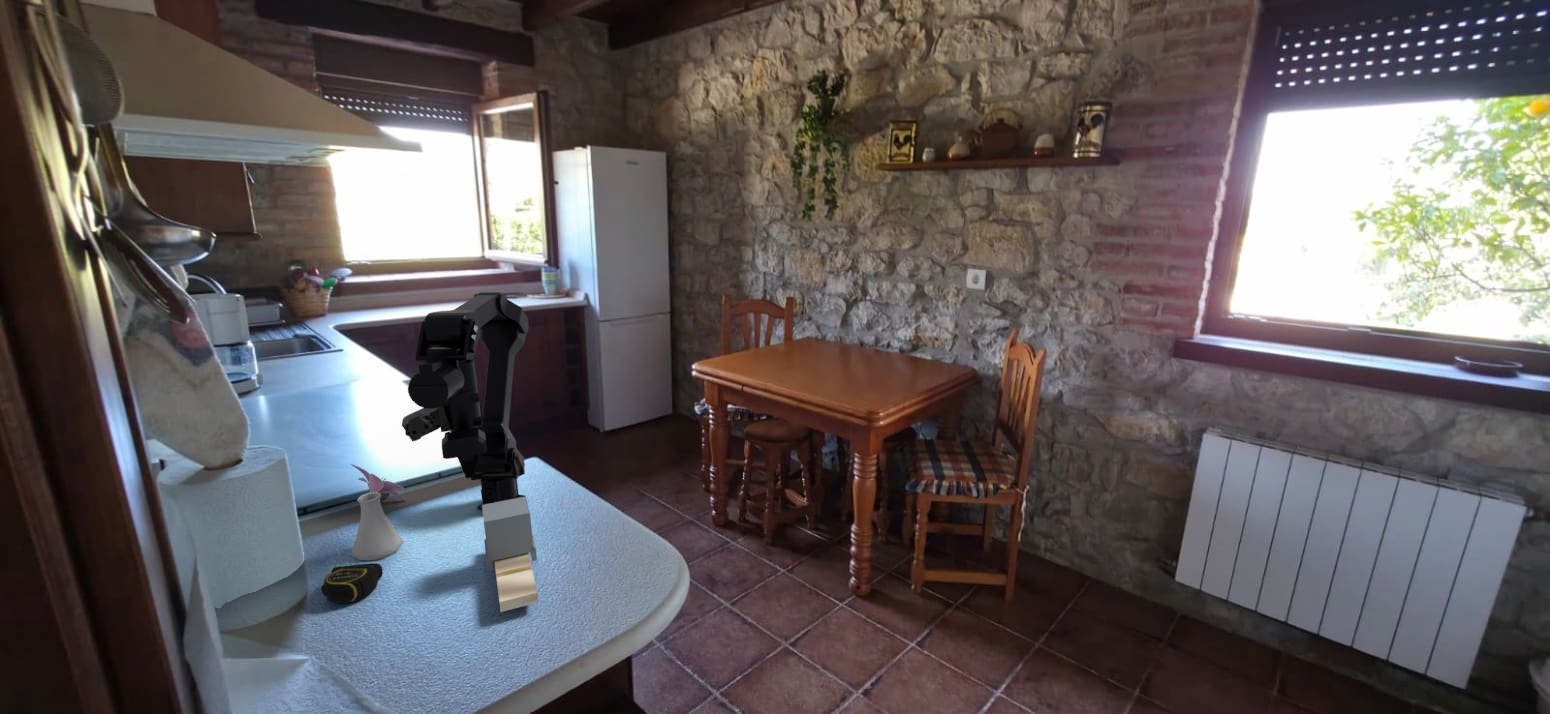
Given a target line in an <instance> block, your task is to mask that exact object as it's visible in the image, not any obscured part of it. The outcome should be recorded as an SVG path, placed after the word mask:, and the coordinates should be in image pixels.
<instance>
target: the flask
mask: <svg viewBox="0 0 1550 714" xmlns="http://www.w3.org/2000/svg"><path fill="white" fill-rule="evenodd" d="M381 498H382V493H381V494H380V493H378V492H370V491H369V492H367V493H364V494H361V495H360V496H359V497H358V498H357V499H356V501H357V502H358V503H359V506H360V522H359V525H358V529H357V533H356V536H355V541H354V544H353V547H352V550H351V551H352V552H351V555H350V556H351V557H353V558H355V559H357V560H359V561H375V560H381V559H383V558H385V557H387V556H389V555H391V554H394V553H396V552H397V551H399V550H400V548H401V547H402V545H403V544H404V543H405V541H404V539H403V538H402V537H401V535H400V534H399V533H398V531H397V529H395V527H394V526H393V524H392V523H391V522H390V520H389V518H388V516H387V515H386V514H385V511H384V509H383V507H382V504H381Z"/></svg>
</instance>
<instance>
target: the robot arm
mask: <svg viewBox="0 0 1550 714" xmlns="http://www.w3.org/2000/svg"><path fill="white" fill-rule="evenodd" d="M529 324H530V323H529V318H528V316H527V315H526V313H525V311H524V310H523V308H522V307H521V306H519V305H518V304H516V303H514V302H513V301H512V300H510V299H509V298H508V297H507V296H506V294H505V293H501V292H500V291H494V292H493V291H489V292H488V291H486V292H483V291H482V292H481V291H479V292H478V293H475V294H474V296H473V297H472V298H470V299H468V300H467V301H466V302H464V303H461V304H460V305H459V306H458V307H456V308H455V309H450V310H439V311H434V312H433V311H432V312H429V313H427V314H426V316H425V317H424V320H422V322H421V326H420V328H419V329H420V330H419V335H418V336H419V337H418V340H417V341H418V342H417V347H416V353H415V357H414V358H415V361H417V362H419V361H420V363H419V364H418V370H419V372H418V373H416V374H415V375H413V376H412V377H411V379H410V381H409V382H408V386H407V392H408V396H409V398H410V400H412V402H413V403H415V405H417V406H419V407H420V409H417V410H415V411H414V412H411V413H409V414H407V415H406V416H404V417H403V418H402V421H401V427H402V428H403V429H404V431H405V432H404V433H405V434H404V435H405V436H407V437H409V439H410V440H411V442H416V441H418V440H421V438H423V437H425V436H426V435H428V434H431V433H433V432H435V431H437V430H438V429H440V432H441V433H444V437H443V438H442V439H441V451H442V459H444V460H445V459H446V460H448V459H449V460H450V459H456V458H457V460H458V463H459V464H460V466H461V469H462V472H463V474H464V476H465V479H470V481H476V480H478V481H479V480H480V487H481V489H480V493H481V494H480V495H481V503H479V505H477V506H476V509H477V510H479V511H483V510H482V505H484V504H490V503H495V502H500V501H505V500H510V499H516V498H521V497H526V498H527V496H526V495H525V494H519V485H518V478H519V477H521V476H524V475H525V474H526V472H525V466H526V464H525V457H524V456H523V455H522V453H521V452H520V451H519V450H518V448H517V440H516V439H515V436H514V435H513V433H512V432H511V430H510V428H509V425H510V416H511V415H510V414H511V405H512V404H511V401H512V393H513V381H514V368H515V357H516V355H517V354H518V352H520V350H521V349H522V347H523V346H524V345H525V344H526V343H525V342H526V335H527V334H528V332H529ZM480 338H481V340H482V342H483V343H484V345H485V347H486V349H487V350H488V356H487V357H488V358H487V367H486V368H487V369H486V378H485V386H484V387H485V389H484V398H483V408H482V406H481V405H480V398H479V396H480V395H479V390H478V389H479V388H478V382H477V372H476V364H475V359H474V355H476V354H477V347H478V343H479V339H480Z"/></svg>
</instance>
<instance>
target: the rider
mask: <svg viewBox="0 0 1550 714" xmlns="http://www.w3.org/2000/svg"><path fill="white" fill-rule="evenodd" d="M481 511H482V518H483V527H484V535H485V538H484V549H485V550H484V551H485V559H486V566H487V572H493V570H494V569H493V562H495V561H494V560H498V559H503V558H507V557H511V556H516V555H520V554H524V553H529V554H530V556H531V558H530V559H531V562H536V561H538V558H537V547H536V542H535V539H534V535H533V528H532V520H531V519H532V518H531V511H530V508H529V504H528V498H527V496H526V497H521V498H516V499H510V500H505V501H500V502H495V503H490V504H484V505H482V510H481Z"/></svg>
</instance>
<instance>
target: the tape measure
mask: <svg viewBox="0 0 1550 714" xmlns="http://www.w3.org/2000/svg"><path fill="white" fill-rule="evenodd" d="M383 571H384V570H383V567H382V565H381V564H380V563H373V562H371V563H361V564H360V563H359V564H352V565H350V564H349V565H342V566H334V567H333V568H332V570H331V572H330V573H329V574H327V575H326V577H325V578H324V581H323V583H322V585H321V589H320V590H321V593H322V595H324V596H325V597H326V600H327V601H328V602H329V603H332V604H344V603H345V604H346V603H351V602H354V601H355V602H356V601H358V600H360V599H361V600H362V598H365V597H367V596H369V595H370V594H371V593H373V592H374V591H375V589H376V588H377V586H378V583H379V581H380V580H381V578H382V577H383V574H384V572H383Z"/></svg>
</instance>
